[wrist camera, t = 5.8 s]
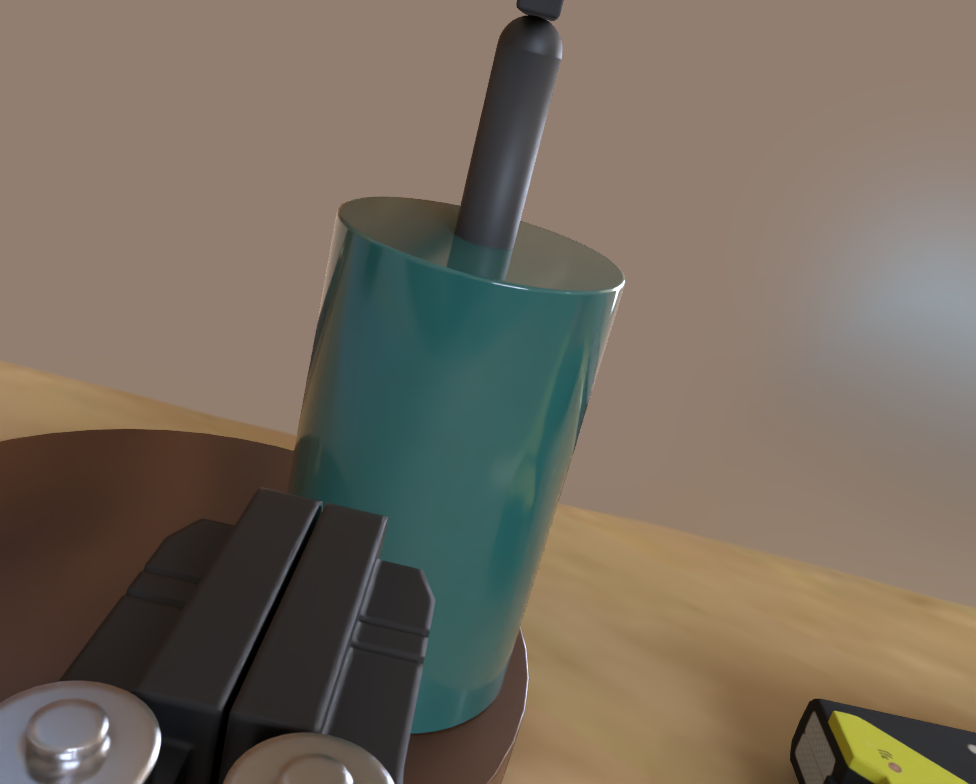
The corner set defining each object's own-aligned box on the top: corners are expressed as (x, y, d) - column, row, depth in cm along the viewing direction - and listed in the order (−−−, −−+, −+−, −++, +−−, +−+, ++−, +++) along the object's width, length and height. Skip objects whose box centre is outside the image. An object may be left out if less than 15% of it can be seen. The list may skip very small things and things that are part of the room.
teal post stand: (-587, 850, 14) (-1127, -1212, 7) (10, 416, 30) (49, -339, 22) (502, 1088, 15) (1132, -560, 7) (523, 539, 30) (728, -156, 23)
